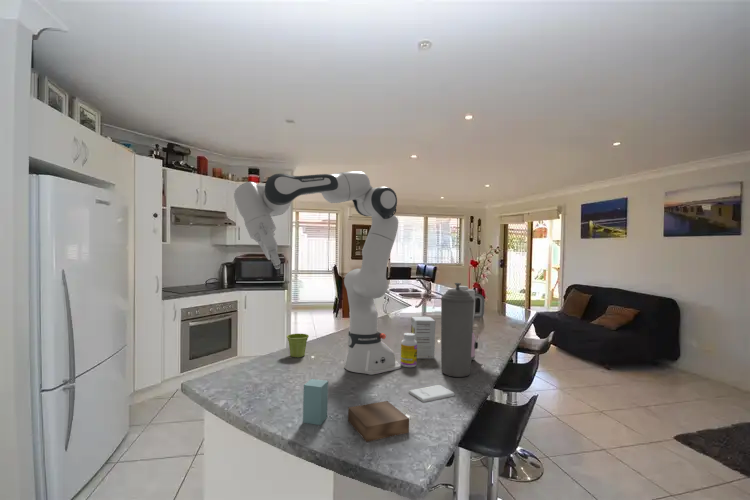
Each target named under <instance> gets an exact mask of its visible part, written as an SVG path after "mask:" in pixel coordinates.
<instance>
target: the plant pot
mask: <svg viewBox="0 0 750 500" xmlns="http://www.w3.org/2000/svg"><path fill="white" fill-rule="evenodd" d="M286 338H287V341H288V346H289V355H290V357H291V358H292V357H293V358H296V357H297V358H302V357H304V356H305V354H306V347H307V343H308V339H309V334H306V333H290V334H288V335H286Z"/></svg>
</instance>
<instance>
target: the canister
mask: <svg viewBox="0 0 750 500" xmlns="http://www.w3.org/2000/svg"><path fill="white" fill-rule="evenodd" d="M454 285H455V288H456V289H452V288H449V289H450V290H448V289H447V291H446V292H445V293H444V294H443V295H442V296H441V299H440V301H441V304H440V305H441V308H440V310H441V313H440V314H441V316H440V317H441V320H440V321H441V322H440V323H441V325H440V327H441V328H440V338H441V339H440V340H441V342H440V344H441V349H440V353H441V354H440V356H441V361H440V362H441V364H440V366H441V368H440V371H441V372H442V373H443V374H444V375H446V376H450V377H455V378H465V377H468V376H469V375H470V373H471V365H472V364H471V363H472V360H471V348H472V329H474V327H473V325H474V322H473V309H474V299H473V298H472V296H471V295H470V294H469V293H468V291H466V290H461V289H460V288H459V286H462V283H460V282H454Z"/></svg>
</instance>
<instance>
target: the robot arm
mask: <svg viewBox="0 0 750 500" xmlns="http://www.w3.org/2000/svg"><path fill="white" fill-rule="evenodd" d="M313 194H321V195H322V197H323V198H324V199H325V201H327V202H328V203H331V204H339V203H344V202H349V201H351V202H352V203H353V207H354V209H355V210H356V212H357V213H358V214H359V215H360V216H362V217H371V225H370V229H369V231H368V233H367V237H366V239H365V242H364V244H363V248H362V250H361V254H362V260H361V261H362V262H361V267H360V268H355V269H352V270H350V271H348V272H347V273H346V274H345V276H344V279H343V283H344V288H345V289H346V293H347V301H348V306H349V308H348V309H349V331H348V334H347V335H348V336H347V346H348V349H347V356H346V360H345V364H344V369H345V370H347V371H349V372H353V373H359V374H365V375H372V376H373V375H377V374H381V373H386V372H390V371H395V370H399V369H401V368H402V365H401V362H399V361H397V360H396V355H395V352H394V350H393V349H391V347H389V346H388V345H387V344H386V343H385V342H383V341H382V339H383V340H385V339H386V337H387V335H386V334H385V333H381V332H379V331H378V323H379V322H378V320H379V318H378V315H379V314H378V310H377V307H376V304H375V301H374V300H375V299H379V298H382V297H384V296H385V294H386V292H387V291H388V287H389V284H388V280H387V270H388V269H387V267H388V262H389V259H390V256H391V252H392V249H393V245H394V243H395V240H396V238H397V232H398V229H399V220H398V217H397V216H396V215H395V214H396V212H397V206H398V197H397V193H396V192H395V191H394V189H392V188H391V187H387V186H378V187H373V186H372V185H371V181H370V178H369V176H368V175H367V174H366V173H365V172H363V171H343V172H337V173H336V172H335V173H322V174H320V173H319V174H318V173H317V174H307V175H306V174H305V175H291V174H287V173H286V174H285V173H275V174H272V175H270V177H268V178H267V180H266V181H265V184H264V185H260V184H257V183H256V182H254V181H246V182H244V183H242V184H240V185H239V186H237V188H236V189H235V191H234V193H233V199H234V201H235V205H236V207H237V209H238V212H239V214H240V215H241V217H242V218H243V221H244V226H245V229H247V233H248V235H249V237H250V240H251V239H252V240H254V241H255V242H256V243H258V245H259V247H260V249H261V251H262V252H263V254H264V256H265V258H266V259H267V260H268V261H271V263H272V264H273V266H274V268H275V270H278V269H281V262H282V261H281V259H280V257H279V253H278V242H277V240H276V238H275V231H276V230H277V227H276V224H275V223H274V221H273V218H272V217H275V216H280V215H283V214H285V213H286V212H287V211H288V209H289V208H290V206H291V204H292V202H293V201H294V200H295V199H296V198H298V197H300V196H304V195H305V196H307V195H313Z"/></svg>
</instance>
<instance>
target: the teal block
mask: <svg viewBox="0 0 750 500" xmlns="http://www.w3.org/2000/svg"><path fill="white" fill-rule="evenodd" d="M302 397H303V401H302V403H303V404H302V405H303V406H302V423H305V424H309V425H317V426H318V425H319V426H321V425H322V424H323V422H324V421H325V420H326V419H327V418H328V406H329V405H328V402H329V401H328V400H329V398H328V397H329V380H325V379H318V378H316V379H314V378H311V379H309V380H308V381H306V383H305V384H304V385H303V396H302Z"/></svg>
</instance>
